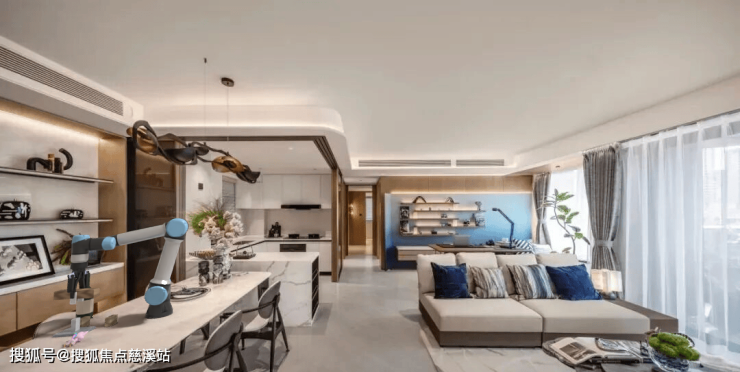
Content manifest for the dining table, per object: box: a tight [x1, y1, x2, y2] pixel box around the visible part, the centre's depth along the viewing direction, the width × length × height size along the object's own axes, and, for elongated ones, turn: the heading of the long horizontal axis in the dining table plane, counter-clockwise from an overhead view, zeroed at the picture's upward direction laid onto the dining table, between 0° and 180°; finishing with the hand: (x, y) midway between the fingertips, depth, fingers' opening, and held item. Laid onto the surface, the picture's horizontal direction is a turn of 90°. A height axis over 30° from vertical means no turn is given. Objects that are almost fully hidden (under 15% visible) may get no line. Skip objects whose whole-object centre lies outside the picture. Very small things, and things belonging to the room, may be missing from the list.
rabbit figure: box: [63, 331, 88, 349], centre depth 163 cm, size 6×6×15 cm
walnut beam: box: [52, 287, 101, 301], centre depth 179 cm, size 20×5×4 cm, turn 100°
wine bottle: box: [75, 272, 95, 320], centre depth 202 cm, size 8×8×30 cm
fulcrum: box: [52, 317, 97, 338], centre depth 177 cm, size 14×11×8 cm
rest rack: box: [80, 313, 119, 328], centre depth 188 cm, size 18×7×5 cm, turn 100°
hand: (76, 302), depth 178 cm, fingers closed on walnut beam, 5 cm apart
